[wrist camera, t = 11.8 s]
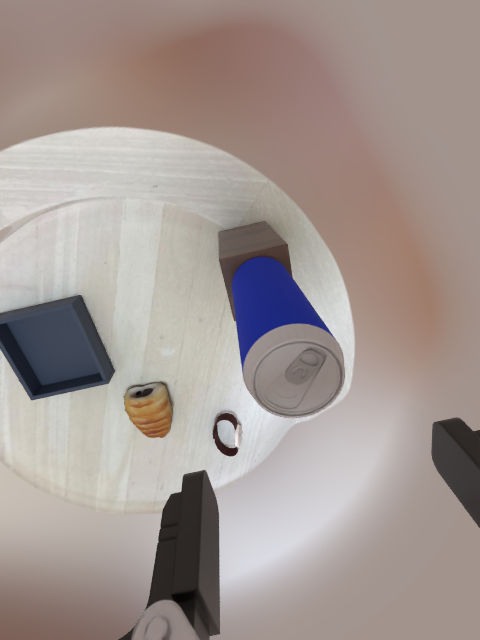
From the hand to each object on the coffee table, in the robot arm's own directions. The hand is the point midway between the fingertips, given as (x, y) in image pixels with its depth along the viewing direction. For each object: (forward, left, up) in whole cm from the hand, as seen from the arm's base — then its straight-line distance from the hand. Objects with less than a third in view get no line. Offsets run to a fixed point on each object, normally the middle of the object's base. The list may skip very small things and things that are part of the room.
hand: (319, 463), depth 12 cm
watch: (+28, -9, -34) cm, 45 cm away
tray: (+7, -28, -34) cm, 44 cm away
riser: (0, 0, -34) cm, 34 cm away
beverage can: (0, 0, -20) cm, 20 cm away
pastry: (+20, -19, -34) cm, 44 cm away
